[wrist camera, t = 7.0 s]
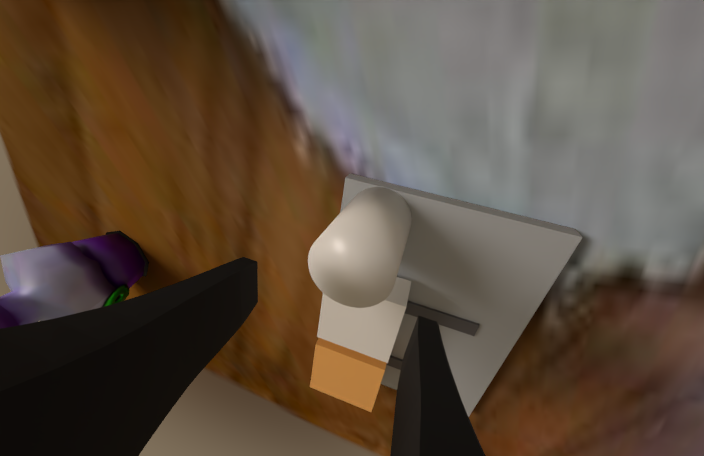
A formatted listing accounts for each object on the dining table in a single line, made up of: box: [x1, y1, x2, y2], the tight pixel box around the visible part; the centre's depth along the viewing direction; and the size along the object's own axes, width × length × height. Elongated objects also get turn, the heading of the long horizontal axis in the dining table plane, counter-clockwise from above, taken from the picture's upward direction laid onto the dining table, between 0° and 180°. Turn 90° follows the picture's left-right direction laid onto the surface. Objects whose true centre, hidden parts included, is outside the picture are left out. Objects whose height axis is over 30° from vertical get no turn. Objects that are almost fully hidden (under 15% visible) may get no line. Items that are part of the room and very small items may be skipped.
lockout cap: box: [308, 187, 412, 308], centre depth 15 cm, size 4×4×6 cm
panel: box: [340, 174, 583, 417], centre depth 20 cm, size 13×17×1 cm
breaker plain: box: [317, 277, 411, 363], centre depth 19 cm, size 5×5×2 cm
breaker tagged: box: [310, 338, 387, 412], centre depth 22 cm, size 5×5×2 cm
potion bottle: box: [0, 231, 149, 329], centre depth 24 cm, size 9×9×12 cm
